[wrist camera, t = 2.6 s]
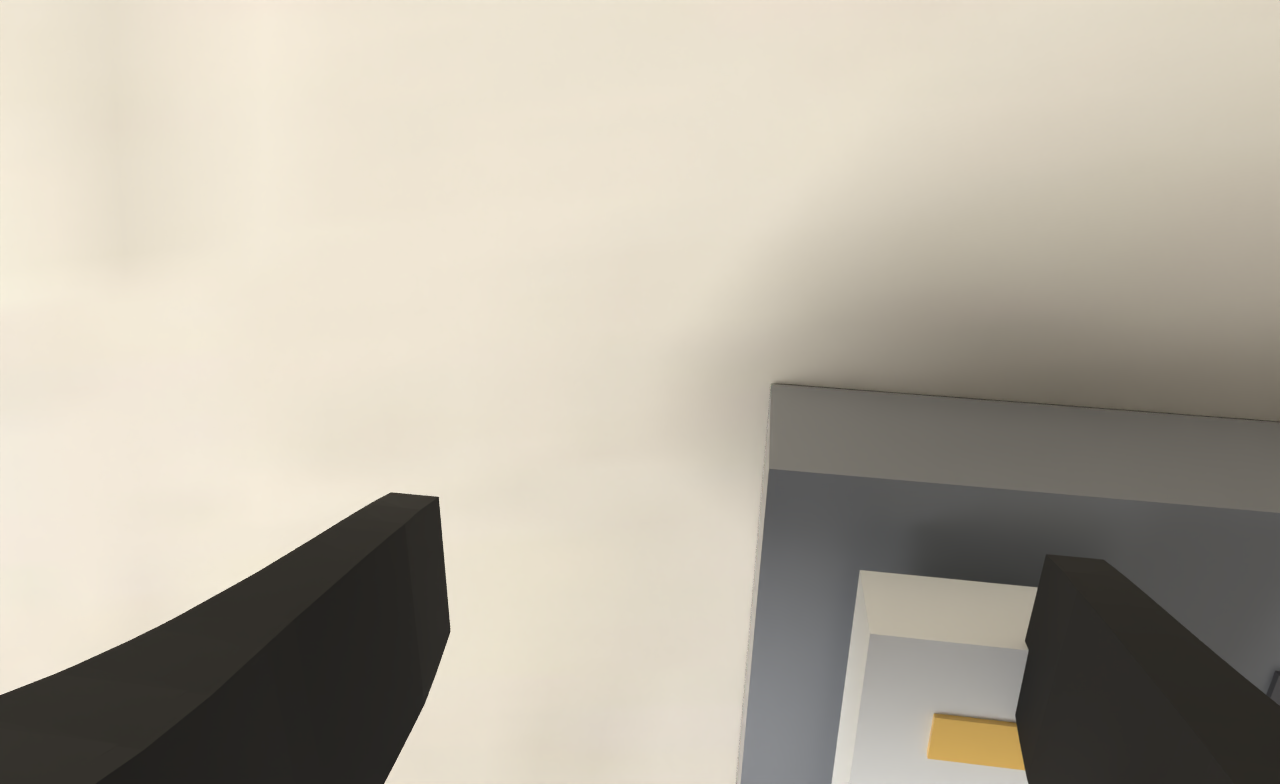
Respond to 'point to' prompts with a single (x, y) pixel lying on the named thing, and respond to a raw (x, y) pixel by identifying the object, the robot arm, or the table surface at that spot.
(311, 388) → the table surface
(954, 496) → the grey flat tray
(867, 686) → the rocker
